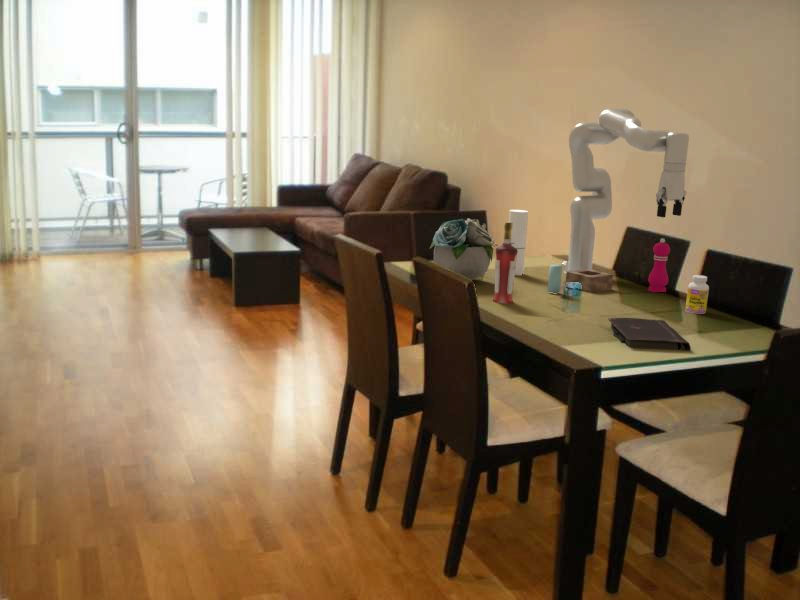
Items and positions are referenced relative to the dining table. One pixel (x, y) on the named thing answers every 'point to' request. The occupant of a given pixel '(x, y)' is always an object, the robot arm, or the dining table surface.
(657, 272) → the pepper mill
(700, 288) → the supplement bottle
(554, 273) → the peg
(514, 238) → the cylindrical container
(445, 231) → the flower arrangement
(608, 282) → the socket block
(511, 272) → the liquor
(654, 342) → the diary
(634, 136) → the robot arm
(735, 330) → the dining table surface
